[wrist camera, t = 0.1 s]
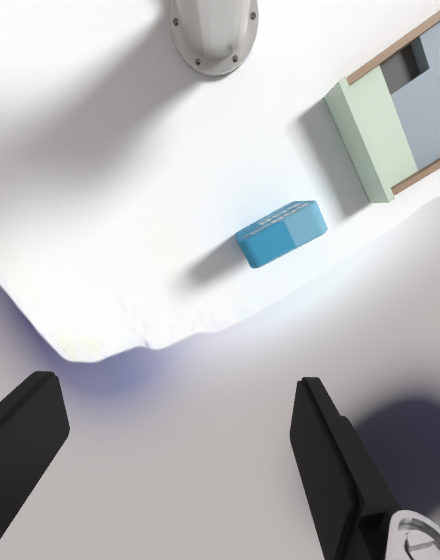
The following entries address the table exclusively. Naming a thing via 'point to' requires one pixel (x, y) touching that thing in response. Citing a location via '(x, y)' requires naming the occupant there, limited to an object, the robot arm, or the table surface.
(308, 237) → the data package
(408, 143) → the box
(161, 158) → the table surface
